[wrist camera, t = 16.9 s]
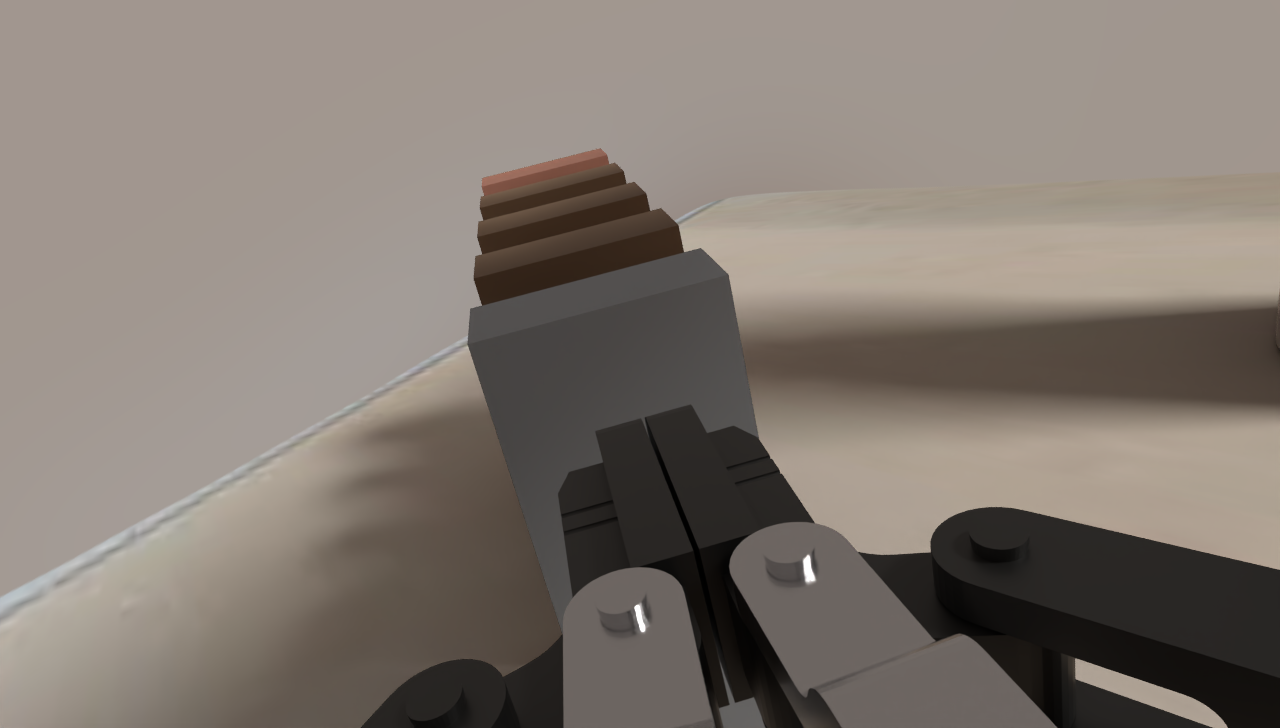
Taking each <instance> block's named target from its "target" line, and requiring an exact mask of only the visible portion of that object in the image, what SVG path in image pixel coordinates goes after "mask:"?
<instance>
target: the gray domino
mask: <svg viewBox="0 0 1280 728" xmlns="http://www.w3.org/2000/svg"><path fill="white" fill-rule="evenodd" d="M468 347H469V350H470V353H471V356H472V359H473V362H474V365H475V368H476V371H477V374H478V377H479V381H480V384H481V387H482V390H483V393H484V396H485V399H486V402H487V405H488V408H489V411H490V414H491V417H492V420H493V423H494V426H495V429H496V433H497V436H498V439H499V442H500V445H501V448H502V451H503V454H504V457H505V460H506V463H507V466H508V469H509V472H510V475H511V478H512V481H513V485H514V488H515V491H516V494H517V497H518V500H519V503H520V506H521V509H522V512H523V515H524V518H525V521H526V524H527V527H528V530H529V533H530V537H531V540H532V543H533V546H534V549H535V552H536V555H537V558H538V561H539V564H540V567H541V570H542V573H543V576H544V579H545V582H546V585H547V589H548V592H549V595H550V598H551V601H552V604H553V607H554V610H555V613H556V616H557V619H558V622H559V625H560V628H561V631H562V634H563V618H564V613H565V610H566V608H567V606H568V604H569V603H570V601H571V600H572V598H573V597H572V590H571V583H570V576H569V569H568V562H567V555H566V548H565V541H564V533H563V527H562V520H561V519H562V517H561V513H560V506H559V499H558V492H559V490H560V488H561V487H562V485H563V483H564V481H565V479H566V477H567V475H568V473H569V472H570V471H574V470H578V469H581V468H585V467H588V466H592V465H595V464H599V463H603V460H602V456H601V452H600V448H599V445H598V441H597V437H596V433H595V431H597V430H601V429H604V428H608V427H611V426H615V425H619V424H622V423H626V422H629V421H633V420H637V419H640V418H641V419H642V421H643V424H644V426H645V429H646V432H647V428H646V423H645V417H647V416H650V415H654V414H658V413H661V412H665V411H668V410H672V409H676V408H679V407H683V406H687V405H690V404H691V405H692V406H693V408H694V410H695V412H696V414H697V415H698V417H699V419H700V421H701V423H702V425H703V426H704V428H705V430H706V432H707V433H709V432H713V431H716V430H720V429H723V428H727V427H730V426H736V427H738V428H740V429H742V430H744V431H746V432H748V433H750V434H752V435H754V436H756V437H758V431H757V426H756V421H755V415H754V410H753V404H752V399H751V394H750V388H749V383H748V377H747V372H746V367H745V361H744V356H743V350H742V345H741V340H740V334H739V329H738V323H737V318H736V313H735V307H734V302H733V296H732V291H731V286H730V280H729V275H728V274H727V273H726V272H725V271H724V270H723V269H722V268H721V267H720V266H719V265H718V264H717V263H716V262H715V261H714V260H713V259H712V258H711V257H710V256H709V255H708V254H707V253H706V252H705V251H703V250H702V249H701V248H699V249H695V250H692V251H688V252H684V253H680V254H677V255H673V256H669V257H665V258H661V259H658V260H654V261H650V262H646V263H642V264H639V265H635V266H631V267H627V268H623V269H620V270H616V271H612V272H608V273H604V274H601V275H597V276H593V277H589V278H585V279H582V280H578V281H574V282H570V283H566V284H563V285H559V286H555V287H551V288H547V289H544V290H540V291H536V292H532V293H528V294H525V295H521V296H517V297H513V298H509V299H506V300H502V301H498V302H494V303H490V304H487V305H483V306H479V307H475V308H471V309H470V321H469V333H468ZM647 434H648V432H647ZM648 437H649V436H648ZM758 439H759V437H758ZM720 665H721V663H720ZM721 670H722V674H723V678H724V682H725V687H726V691H727V695H728V699H729V703H730V705H728V706H725V707H722V708H719V711H720V715H721V719H722V723H723V727H724V728H764V725H763V721H762V716H761V714H760V711H759V709H758V706H757V704H756V701H755V699H754V697H753V698H750V699H747V700H743V701H740V702H737V703H735V702H734V699H733V696H732V693H731V691H730V688H729V685H728V683H727V680H726V677H725V674H724V672H723V669H722V666H721Z"/></svg>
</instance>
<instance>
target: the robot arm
mask: <svg viewBox="0 0 1280 728" xmlns="http://www.w3.org/2000/svg"><path fill="white" fill-rule="evenodd" d="M1276 345H1277V346H1278V348H1279V349H1280V291H1279V302H1278V313H1277V324H1276ZM645 423H646V428H647V432H648V434H647V432H646V429H645V426H644V424H643V421H642V419H641V418H640V419H637V420H633V421H629V422H626V423H622V424H619V425H615V426H611V427H608V428H604V429H601V430H597V431H595V433H596V437H597V441H598V445H599V448H600V452H601V456H602V460H603V463H599V464H595V465H592V466H588V467H585V468H581V469H578V470H574V471H570V472H569V473H568V475H567V477H566V479H565V481H564V483H563V485H562V487H561V488H560V490H559V492H558V499H559V506H560V513H561V517H562V519H561V520H562V527H563V533H564V541H565V548H566V555H567V562H568V569H569V576H570V583H571V590H572V597H573V598H572V600H571V601H570V603H569V604H568V606H567V608H566V610H565V613H564V618H563V634H562V635H561V637H560V638H559V639H558V640H557V641H556V642H555V643H554V644H553V645H552V646H551V647H550V648H549V649H548V650H547V651H546V652H544V653H543V654H542V655H540V656H539V657H538V658H536V659H534V660H533V661H531V662H530V663H528V664H526V665H524V666H523V667H521V668H519V669H517V670H515V671H514V672H512V673H510V674H508V675H507V676H505V677H502V675H501V673H500V672H499V671H498V670H497V669H496V668H495V667H493V666H492V665H490V664H488V663H486V662H483V661H479V660H473V659H460V660H453V661H448V662H444V663H441V664H438V665H435V666H433V667H430V668H428V669H426V670H424V671H422V672H420V673H418V674H417V675H415V676H413V677H412V678H410V679H409V680H408V681H406V682H405V683H404V684H402V685H401V686H400V687H399V688H398V689H397V690H396V691H395V692H394V693H393V694H392V695H391V696H390V697H389V698H388V699H387V700H386V701H385V702H384V703H383V704H382V705H381V706H380V707H379V708H378V710H377V711H376V712H375V713H374V714H373V715H372V716H371V717H370V718H369V719H368V720H367V721H366V723H365V724H364V725H363V726H362V727H361V728H724V727H723V723H722V719H721V715H720V711H719V708H722V707H725V706H728V705H730V703H729V699H728V695H727V691H726V687H725V682H724V678H723V674H722V670H721V666H722V669H723V672H724V674H725V677H726V680H727V683H728V685H729V688H730V691H731V693H732V696H733V699H734V702H735V703H737V702H740V701H743V700H747V699H750V698H753V697H754V699H755V701H756V704H757V706H758V709H759V711H760V714H761V716H762V721H763V725H764V728H1212V727H1209V726H1206V725H1203V724H1200V723H1198V722H1195V721H1192V720H1189V719H1186V718H1183V717H1181V716H1178V715H1175V714H1172V713H1169V712H1166V711H1164V710H1161V709H1158V708H1155V707H1152V706H1149V705H1147V704H1144V703H1141V702H1138V701H1135V700H1132V699H1130V698H1127V697H1124V696H1121V695H1118V694H1115V693H1113V692H1110V691H1107V690H1104V689H1101V688H1098V687H1096V686H1093V685H1090V684H1087V683H1084V682H1081V681H1079V680H1076V679H1075V658H1077V659H1080V660H1083V661H1086V662H1089V663H1092V664H1095V665H1098V666H1101V667H1104V668H1107V669H1110V670H1113V671H1116V672H1119V673H1122V674H1125V675H1127V676H1130V677H1133V678H1136V679H1139V680H1142V681H1145V682H1148V683H1151V684H1154V685H1157V686H1160V687H1163V688H1166V689H1169V690H1172V691H1175V692H1178V693H1181V694H1184V695H1186V696H1189V697H1192V698H1194V699H1196V700H1198V701H1200V702H1201V703H1203V704H1205V705H1206V706H1208V707H1209V708H1210V709H1212V710H1213V711H1214V712H1215V713H1216V714H1217V715H1218V716H1219V717H1221V718H1222V720H1223V721H1224V722H1225V724H1226V725H1227V727H1228V728H1280V570H1278V569H1273V568H1269V567H1265V566H1260V565H1256V564H1252V563H1247V562H1243V561H1239V560H1235V559H1230V558H1226V557H1222V556H1217V555H1213V554H1209V553H1205V552H1200V551H1196V550H1192V549H1187V548H1183V547H1179V546H1175V545H1170V544H1166V543H1162V542H1157V541H1153V540H1149V539H1145V538H1140V537H1136V536H1132V535H1127V534H1123V533H1119V532H1114V531H1110V530H1106V529H1102V528H1097V527H1093V526H1089V525H1084V524H1080V523H1076V522H1072V521H1067V520H1063V519H1059V518H1054V517H1050V516H1046V515H1042V514H1037V513H1033V512H1029V511H1024V510H1019V509H1014V508H1003V507H988V508H978V509H973V510H968V511H965V512H962V513H959V514H956V515H954V516H952V517H950V518H948V519H947V520H946V521H944V522H943V523H941V524H940V525H939V526H938V527H937V529H936V530H935V532H934V533H933V535H932V538H931V552H930V553H914V554H898V555H875V554H866V553H861V552H857V551H856V550H855V548H854V547H853V546H852V545H851V544H850V543H849V542H848V540H847V539H846V538H845V537H843V536H842V535H841V534H840V533H838V532H837V531H835V530H833V529H831V528H829V527H826V526H823V525H819V524H815V523H814V521H813V520H812V518H811V517H810V515H809V514H808V512H807V511H806V509H805V508H804V506H803V505H802V503H801V502H800V500H799V499H798V497H797V496H796V494H795V493H794V491H793V490H792V488H791V487H790V485H789V484H788V482H787V481H786V479H785V478H784V476H783V475H782V474H780V471H779V469H778V467H777V466H776V464H775V463H774V461H773V460H772V459H770V456H769V454H768V452H767V451H766V449H765V448H764V446H763V445H762V443H761V442H760V440H759V439H758V437H756V436H754V435H752V434H750V433H748V432H746V431H744V430H742V429H740V428H738V427H736V426H730V427H727V428H723V429H720V430H716V431H713V432H709V433H707V432H706V430H705V428H704V426H703V425H702V423H701V421H700V419H699V417H698V415H697V414H696V412H695V410H694V408H693V406H692V405H691V404H690V405H687V406H683V407H679V408H676V409H672V410H668V411H665V412H661V413H658V414H654V415H650V416H647V417H645ZM648 436H649V437H648ZM720 663H721V665H720Z"/></svg>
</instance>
